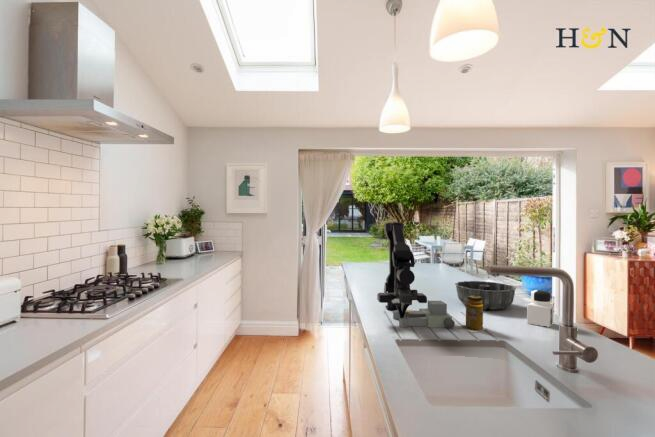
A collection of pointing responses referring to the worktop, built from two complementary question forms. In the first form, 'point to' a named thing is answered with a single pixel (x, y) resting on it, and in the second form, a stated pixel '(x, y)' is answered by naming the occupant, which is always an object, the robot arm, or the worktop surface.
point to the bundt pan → (487, 293)
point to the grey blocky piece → (428, 317)
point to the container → (540, 309)
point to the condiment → (474, 314)
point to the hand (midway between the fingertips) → (401, 319)
